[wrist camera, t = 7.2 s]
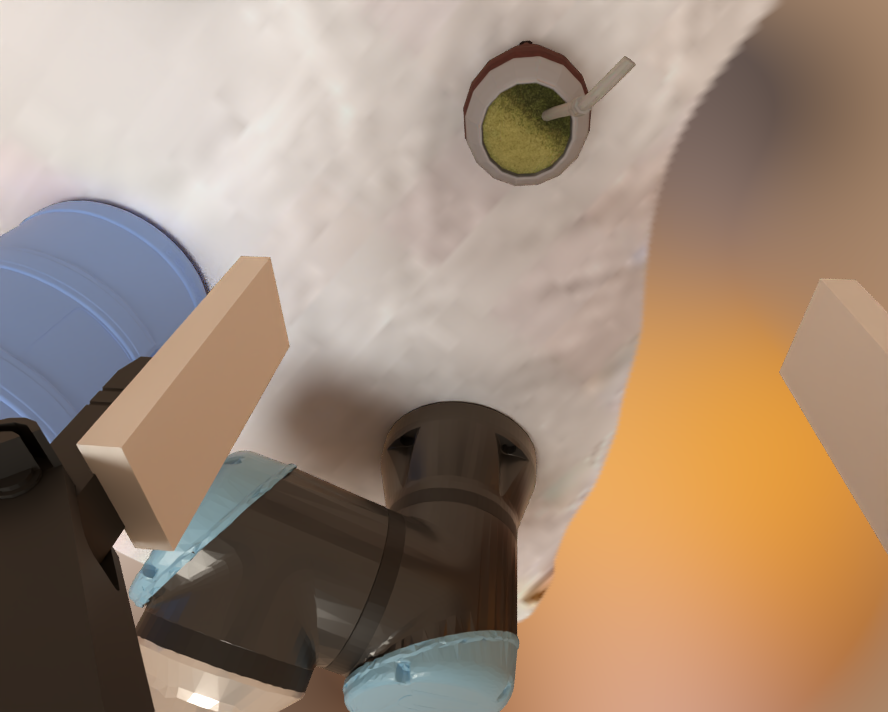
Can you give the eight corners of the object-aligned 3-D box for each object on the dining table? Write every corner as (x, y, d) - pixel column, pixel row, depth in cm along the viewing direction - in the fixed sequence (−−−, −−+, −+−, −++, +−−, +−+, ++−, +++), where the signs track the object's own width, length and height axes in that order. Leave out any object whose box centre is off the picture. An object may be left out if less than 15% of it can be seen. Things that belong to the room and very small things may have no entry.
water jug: (-12, 224, 46) (-517, 499, 24) (141, 172, 41) (-297, 448, 19) (109, 370, 54) (-178, 674, 32) (247, 339, 50) (26, 665, 28)
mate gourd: (473, 155, 38) (451, 257, 26) (466, 21, 33) (435, 71, 22) (586, 149, 37) (616, 253, 25) (595, 10, 32) (637, 56, 20)
